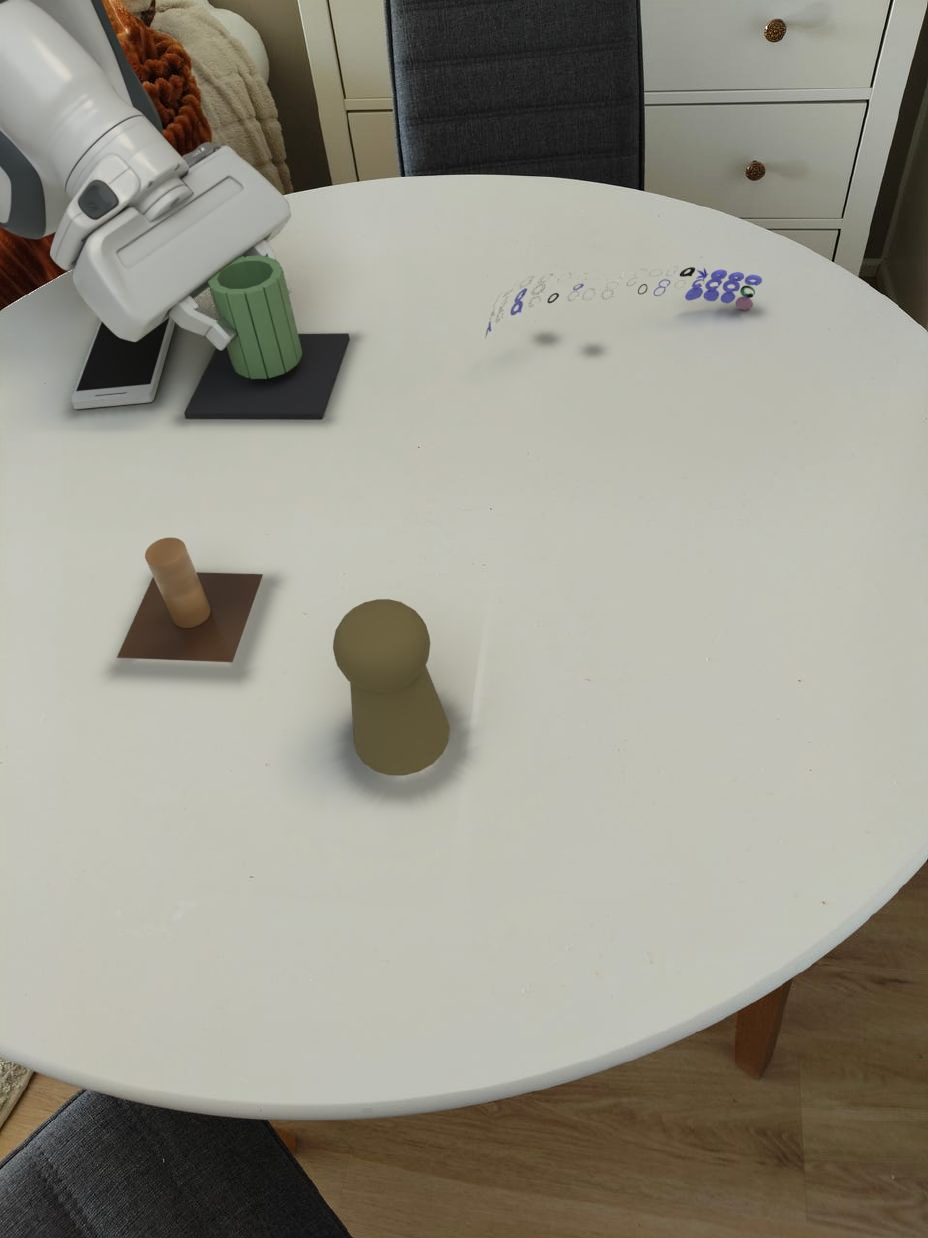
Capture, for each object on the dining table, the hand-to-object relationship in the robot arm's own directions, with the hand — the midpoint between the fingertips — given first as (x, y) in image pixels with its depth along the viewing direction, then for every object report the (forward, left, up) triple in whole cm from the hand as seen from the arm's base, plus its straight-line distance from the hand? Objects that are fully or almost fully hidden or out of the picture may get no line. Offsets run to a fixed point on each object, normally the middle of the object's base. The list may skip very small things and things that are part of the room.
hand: (257, 320), depth 83 cm
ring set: (+30, +6, -6) cm, 31 cm away
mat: (0, 0, -6) cm, 6 cm away
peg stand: (+2, -29, -6) cm, 30 cm away
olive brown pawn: (+18, -38, -6) cm, 42 cm away
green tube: (0, 0, -4) cm, 4 cm away
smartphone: (-14, +3, -6) cm, 16 cm away
